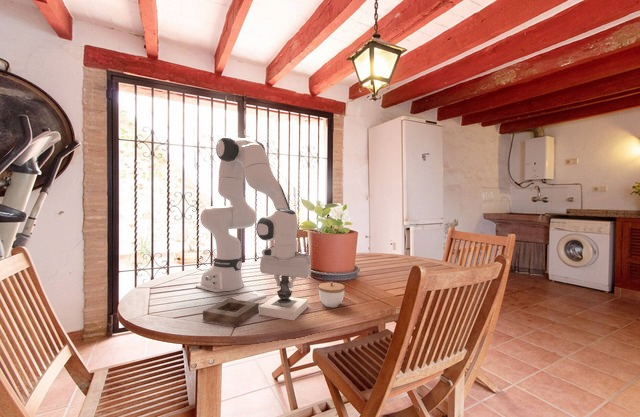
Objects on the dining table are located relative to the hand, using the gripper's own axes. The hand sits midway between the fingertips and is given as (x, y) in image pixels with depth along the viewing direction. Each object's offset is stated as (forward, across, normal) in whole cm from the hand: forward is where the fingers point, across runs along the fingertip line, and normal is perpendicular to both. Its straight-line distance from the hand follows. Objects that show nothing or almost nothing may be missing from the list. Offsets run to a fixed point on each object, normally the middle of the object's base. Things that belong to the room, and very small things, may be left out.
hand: (284, 286), depth 111 cm
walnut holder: (+9, +16, +11) cm, 22 cm away
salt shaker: (+6, 0, 0) cm, 6 cm away
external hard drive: (+10, +20, -7) cm, 24 cm away
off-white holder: (+9, 0, 0) cm, 9 cm away
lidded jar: (+10, -15, -13) cm, 22 cm away
